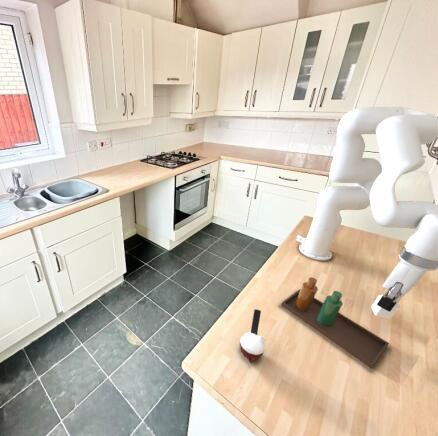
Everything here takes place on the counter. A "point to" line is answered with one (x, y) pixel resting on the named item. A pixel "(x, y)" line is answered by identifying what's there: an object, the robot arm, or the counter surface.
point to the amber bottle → (306, 294)
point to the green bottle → (330, 309)
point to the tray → (341, 332)
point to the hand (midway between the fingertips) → (387, 303)
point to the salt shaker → (382, 312)
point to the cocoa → (253, 340)
